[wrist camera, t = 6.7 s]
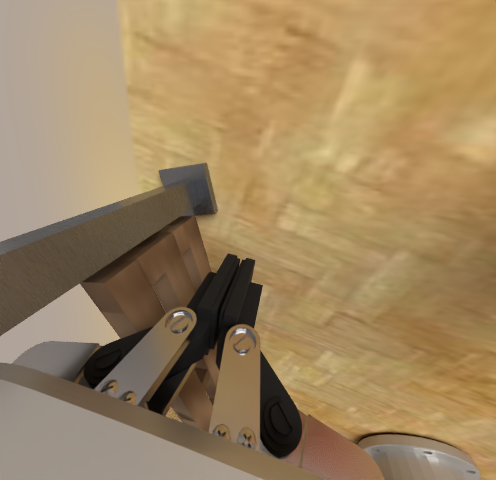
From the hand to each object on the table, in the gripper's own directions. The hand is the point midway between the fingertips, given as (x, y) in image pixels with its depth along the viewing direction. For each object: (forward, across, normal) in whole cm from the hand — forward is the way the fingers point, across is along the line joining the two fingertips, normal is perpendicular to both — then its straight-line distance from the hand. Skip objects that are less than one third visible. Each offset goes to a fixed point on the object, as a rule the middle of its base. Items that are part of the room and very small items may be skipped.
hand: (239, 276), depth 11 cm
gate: (+2, +2, +6) cm, 6 cm away
